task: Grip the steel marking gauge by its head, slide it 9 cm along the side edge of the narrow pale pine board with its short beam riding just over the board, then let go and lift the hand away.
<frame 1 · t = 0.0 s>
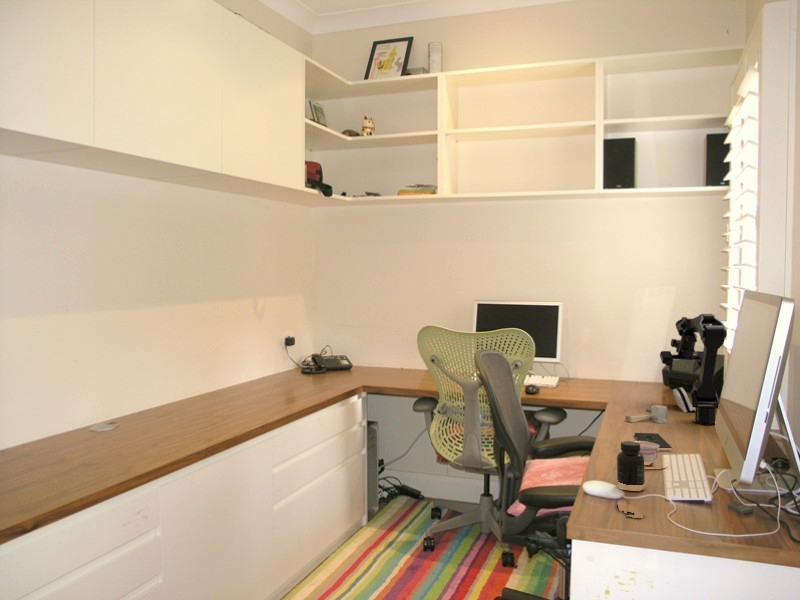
hand: (681, 372, 274), 15 cm above the table, tool tilted 35°, fingers open, 9 cm apart
white rounded piece: (683, 409, 272), on the table
supplement bottle: (630, 489, 168), on the table
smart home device: (652, 445, 214), on the table
pine board: (641, 420, 249), on the table
marking gauge: (659, 421, 247), on the table
teacup: (645, 465, 190), on the table
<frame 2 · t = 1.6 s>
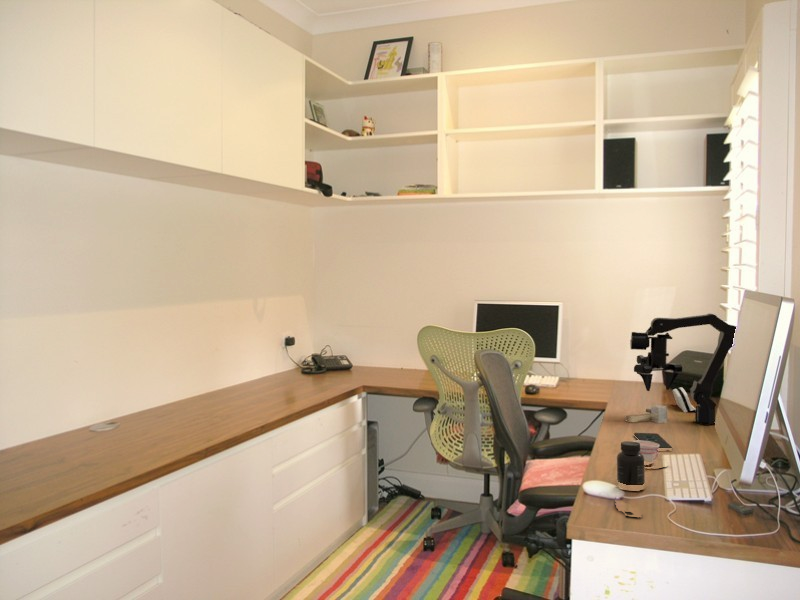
hand: (657, 390, 248), 12 cm above the table, tool pointing down, fingers open, 9 cm apart
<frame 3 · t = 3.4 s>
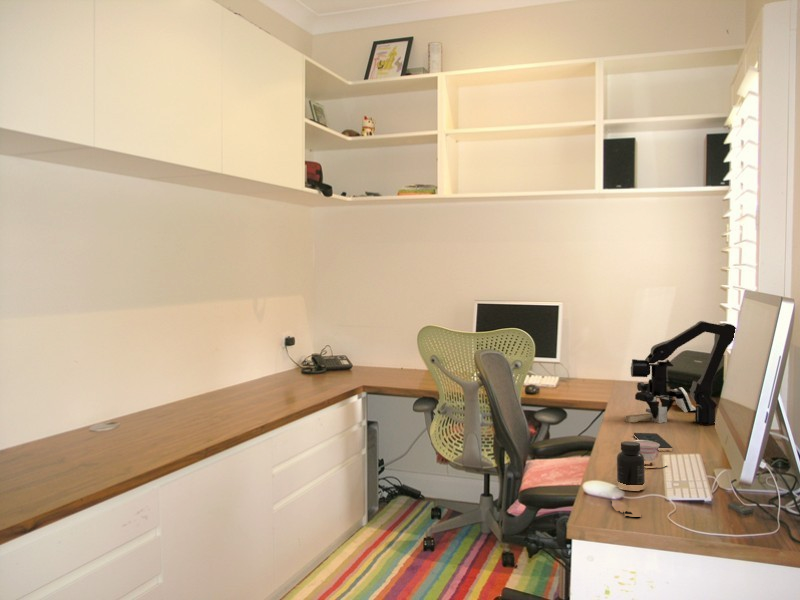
hand: (659, 417, 247), 2 cm above the table, tool pointing down, fingers closed on marking gauge, 4 cm apart
marking gauge: (659, 421, 247), on the table, touching gripper
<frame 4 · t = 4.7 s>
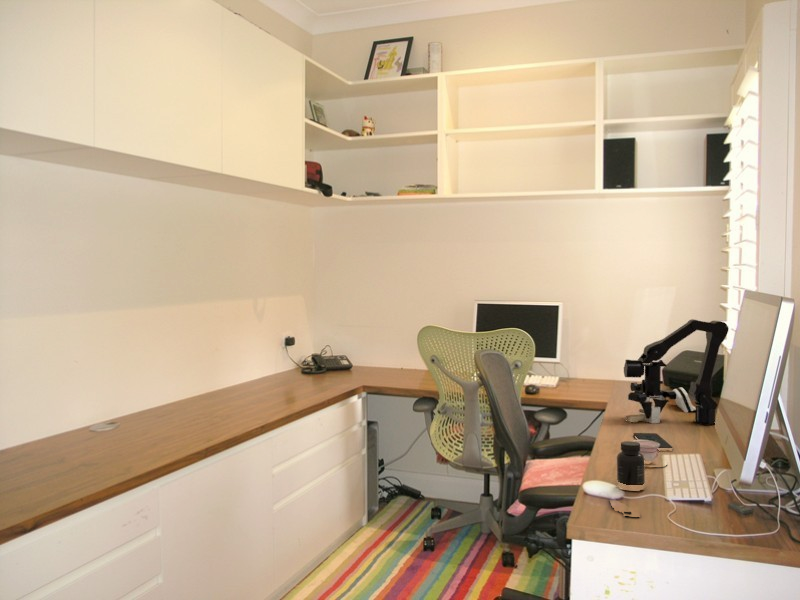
hand: (652, 418, 246), 2 cm above the table, tool pointing down, fingers closed on marking gauge, 4 cm apart
marking gauge: (652, 422, 246), on the table, touching gripper
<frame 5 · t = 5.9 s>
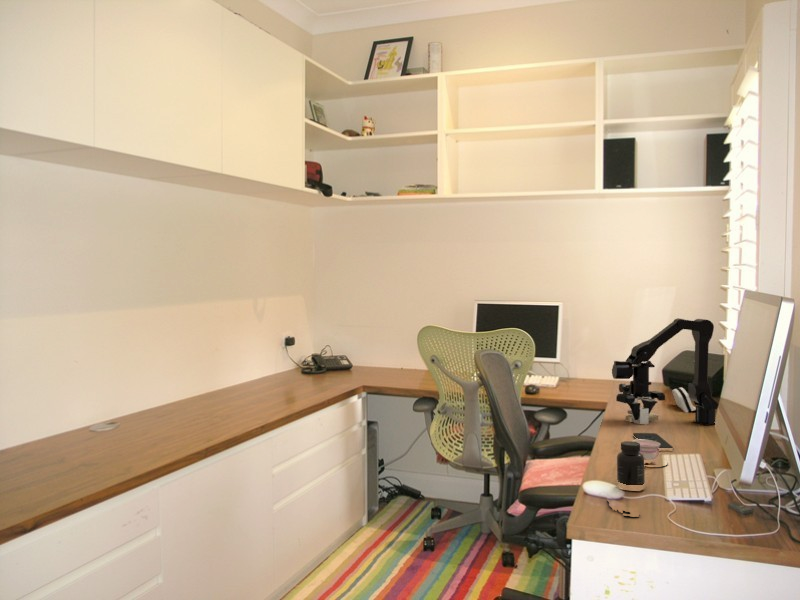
hand: (640, 419, 244), 2 cm above the table, tool pointing down, fingers closed on marking gauge, 4 cm apart
marking gauge: (640, 423, 244), on the table, touching gripper
when the fingers open (2 cm above the table, at t = 6.9 s): marking gauge stays where it is, on the table.
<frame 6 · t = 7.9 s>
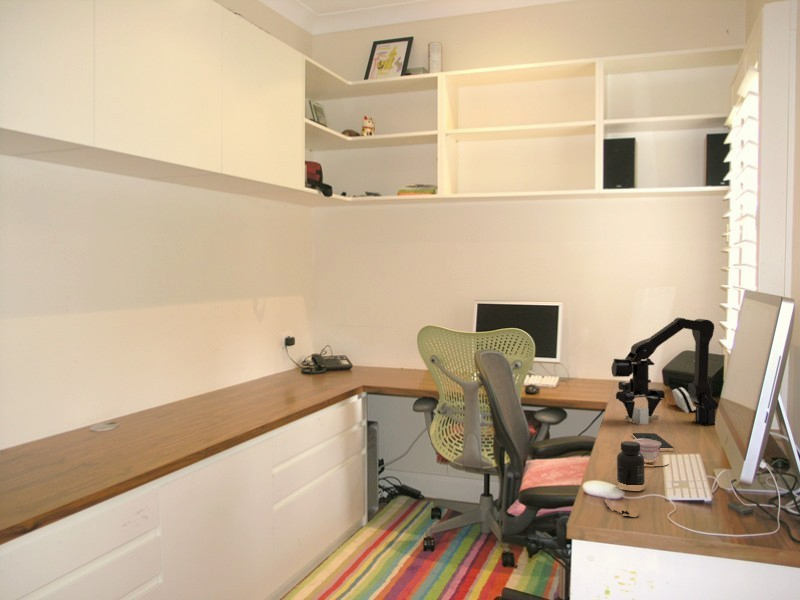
hand: (640, 417, 244), 2 cm above the table, tool pointing down, fingers open, 9 cm apart
marking gauge: (640, 423, 244), on the table
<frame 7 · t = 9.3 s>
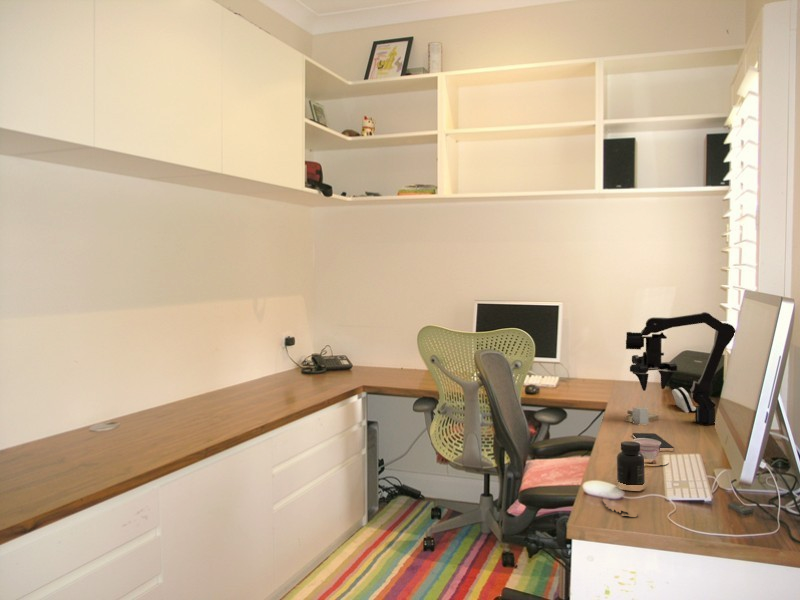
hand: (653, 389, 249), 12 cm above the table, tool pointing down, fingers open, 9 cm apart
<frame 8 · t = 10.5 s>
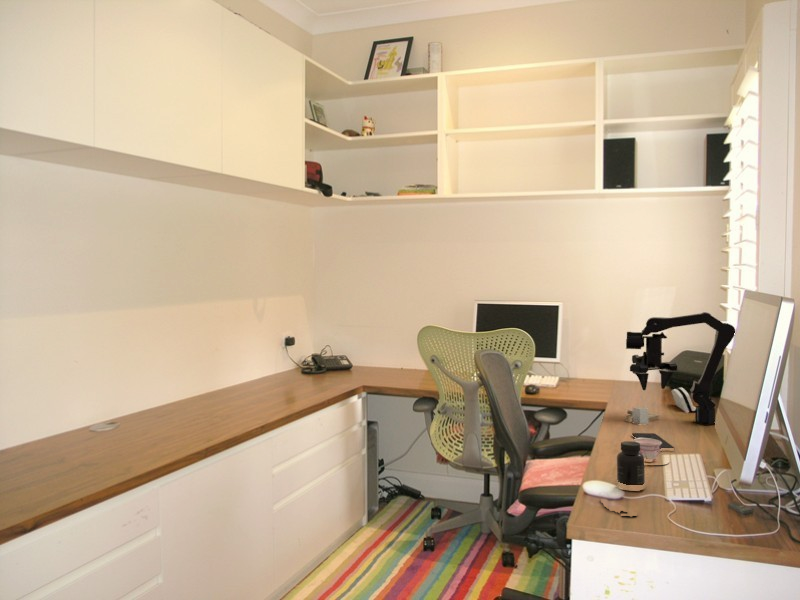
hand: (653, 389, 250), 12 cm above the table, tool pointing down, fingers open, 9 cm apart
at the end: marking gauge 0.1 cm from the target spot, on the table; marking gauge tilted 0°; the gripper is holding nothing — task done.
